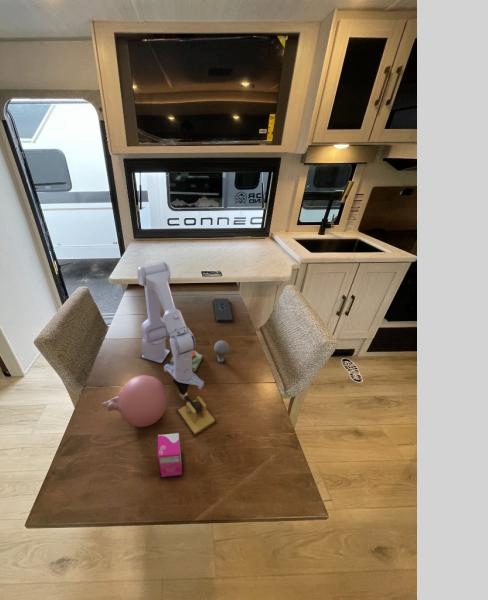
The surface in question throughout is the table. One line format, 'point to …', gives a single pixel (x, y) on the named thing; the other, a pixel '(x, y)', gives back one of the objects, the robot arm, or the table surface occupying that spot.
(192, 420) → the switch bracket
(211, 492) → the table surface
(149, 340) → the robot arm
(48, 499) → the table surface
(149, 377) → the balloon
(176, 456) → the supplement box
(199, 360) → the button block
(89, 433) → the table surface
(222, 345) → the light bulb
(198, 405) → the lever
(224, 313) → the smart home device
